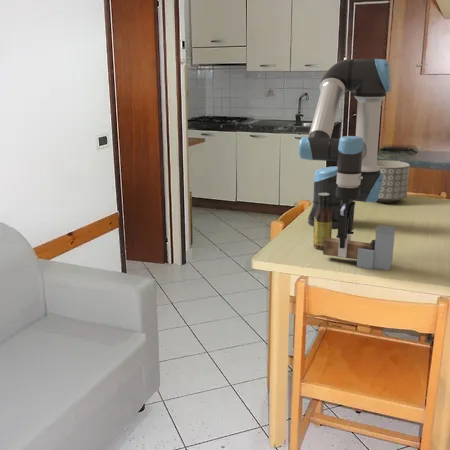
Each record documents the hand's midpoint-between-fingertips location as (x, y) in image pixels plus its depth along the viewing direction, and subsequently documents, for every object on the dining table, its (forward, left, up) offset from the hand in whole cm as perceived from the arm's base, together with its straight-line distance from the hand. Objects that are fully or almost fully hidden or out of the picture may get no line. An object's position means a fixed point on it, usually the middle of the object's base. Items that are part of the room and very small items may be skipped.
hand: (343, 254), depth 176 cm
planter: (-2, +91, -2) cm, 91 cm away
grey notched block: (+10, 0, -2) cm, 11 cm away
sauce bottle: (-10, +10, -2) cm, 15 cm away
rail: (+1, 0, 0) cm, 2 cm away
